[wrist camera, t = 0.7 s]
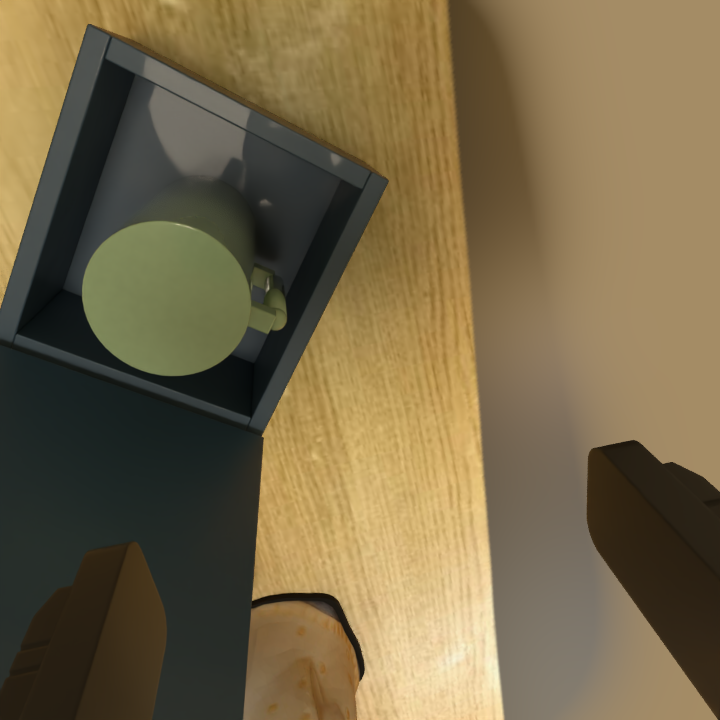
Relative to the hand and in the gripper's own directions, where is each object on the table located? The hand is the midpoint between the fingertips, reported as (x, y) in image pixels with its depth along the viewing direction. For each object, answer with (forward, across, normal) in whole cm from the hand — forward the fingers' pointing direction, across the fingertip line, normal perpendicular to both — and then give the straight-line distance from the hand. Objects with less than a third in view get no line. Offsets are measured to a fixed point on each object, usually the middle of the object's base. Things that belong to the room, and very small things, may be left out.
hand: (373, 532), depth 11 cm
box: (+22, +5, -2) cm, 23 cm away
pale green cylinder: (+22, +5, -2) cm, 22 cm away
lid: (+8, +8, +4) cm, 12 cm away
